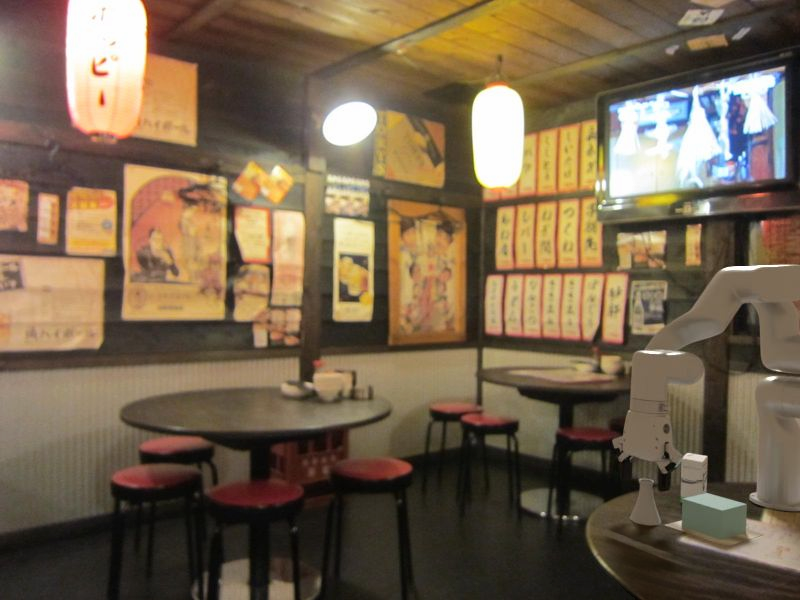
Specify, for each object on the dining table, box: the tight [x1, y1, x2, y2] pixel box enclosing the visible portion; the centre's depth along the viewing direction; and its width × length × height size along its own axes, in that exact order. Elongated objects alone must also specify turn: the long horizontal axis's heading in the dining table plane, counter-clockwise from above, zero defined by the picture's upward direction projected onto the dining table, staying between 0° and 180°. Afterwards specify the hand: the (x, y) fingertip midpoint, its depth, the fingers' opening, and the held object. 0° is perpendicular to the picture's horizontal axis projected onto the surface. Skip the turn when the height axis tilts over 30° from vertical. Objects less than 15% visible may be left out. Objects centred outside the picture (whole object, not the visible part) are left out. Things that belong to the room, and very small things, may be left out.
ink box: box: [680, 452, 709, 503], centre depth 161 cm, size 9×5×12 cm, turn 148°
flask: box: [629, 478, 662, 526], centre depth 145 cm, size 7×7×10 cm
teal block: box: [681, 492, 748, 540], centre depth 140 cm, size 9×9×6 cm
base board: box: [664, 519, 765, 548], centre depth 140 cm, size 14×14×1 cm
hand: (644, 485), depth 144 cm, fingers open, 9 cm apart
